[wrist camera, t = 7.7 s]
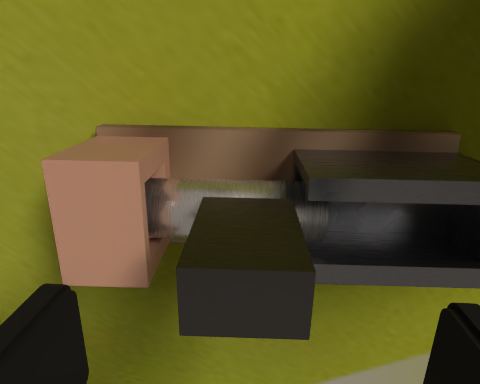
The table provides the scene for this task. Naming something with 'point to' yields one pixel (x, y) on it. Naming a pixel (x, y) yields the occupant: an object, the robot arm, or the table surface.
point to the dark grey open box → (394, 217)
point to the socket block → (106, 210)
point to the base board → (269, 148)
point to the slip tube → (240, 254)
